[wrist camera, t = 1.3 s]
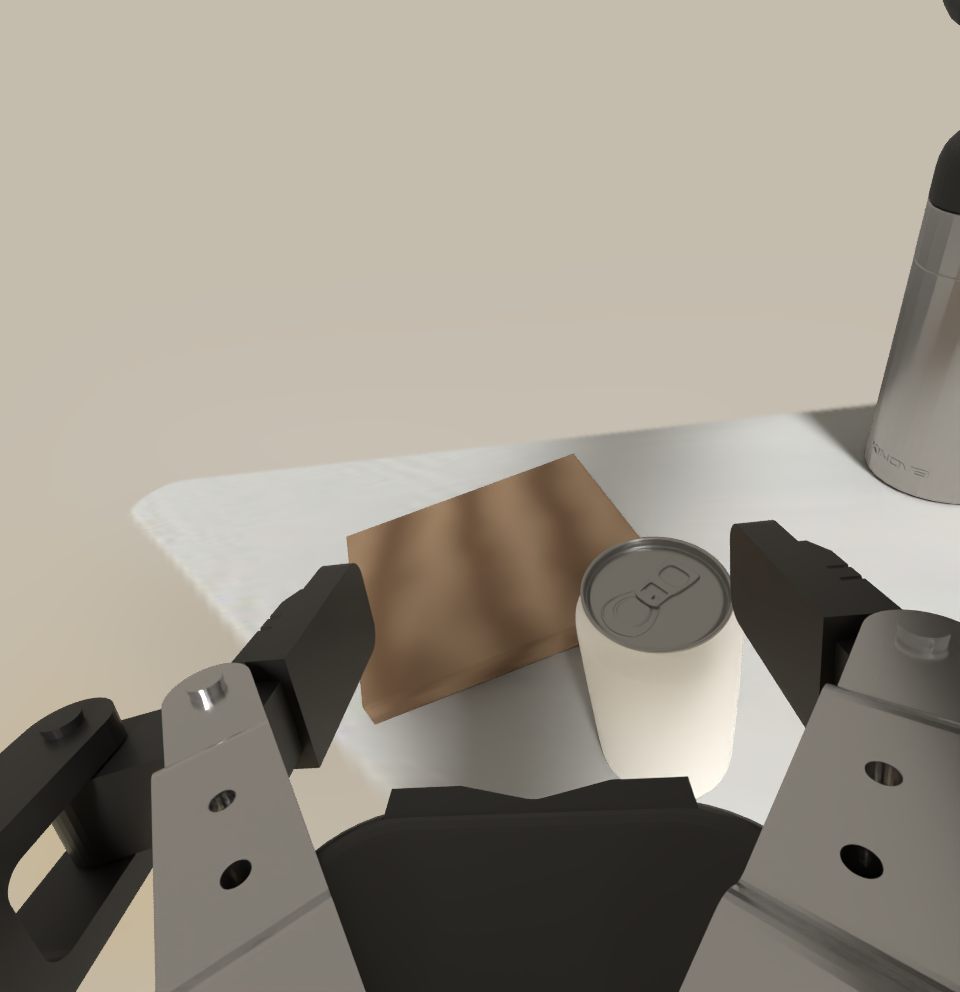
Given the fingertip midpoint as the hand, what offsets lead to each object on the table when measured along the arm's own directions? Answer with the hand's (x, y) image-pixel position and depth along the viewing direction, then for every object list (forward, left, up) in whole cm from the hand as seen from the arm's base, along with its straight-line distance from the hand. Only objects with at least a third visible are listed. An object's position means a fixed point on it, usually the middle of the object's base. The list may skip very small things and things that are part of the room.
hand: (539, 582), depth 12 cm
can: (-5, -5, -20) cm, 21 cm away
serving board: (0, -20, -20) cm, 28 cm away
